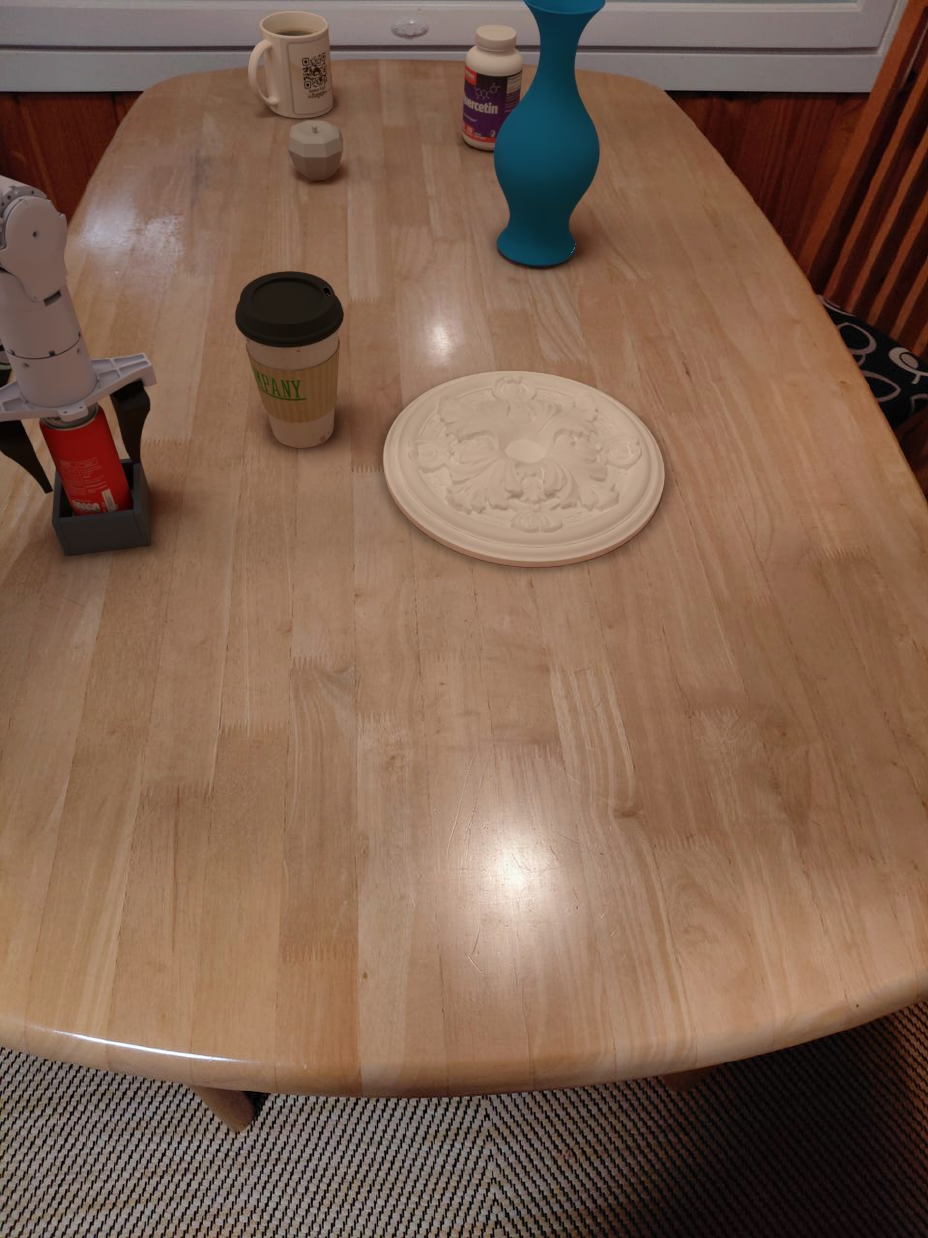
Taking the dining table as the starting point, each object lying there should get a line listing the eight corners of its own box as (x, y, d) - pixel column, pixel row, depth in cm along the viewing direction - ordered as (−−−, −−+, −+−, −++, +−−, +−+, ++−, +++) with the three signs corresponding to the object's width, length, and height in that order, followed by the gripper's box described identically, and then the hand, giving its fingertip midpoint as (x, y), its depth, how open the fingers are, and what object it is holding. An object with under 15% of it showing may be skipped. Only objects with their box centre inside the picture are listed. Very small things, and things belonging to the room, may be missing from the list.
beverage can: (65, 523, 84) (21, 418, 75) (103, 488, 87) (66, 383, 78) (110, 543, 83) (72, 438, 74) (148, 507, 86) (115, 402, 77)
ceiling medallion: (549, 616, 81) (553, 593, 79) (324, 466, 92) (322, 441, 89) (715, 459, 95) (723, 435, 92) (503, 344, 106) (505, 320, 103)
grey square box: (65, 555, 83) (51, 523, 80) (68, 498, 88) (55, 465, 84) (150, 545, 84) (140, 512, 81) (149, 489, 89) (139, 456, 86)
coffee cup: (247, 405, 97) (224, 274, 85) (339, 391, 99) (329, 261, 88) (263, 467, 91) (241, 335, 80) (361, 450, 93) (353, 320, 82)
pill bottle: (450, 141, 137) (454, 31, 125) (483, 123, 141) (489, 15, 129) (495, 159, 134) (502, 48, 122) (527, 140, 138) (537, 31, 127)
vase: (602, 262, 117) (645, 11, 96) (514, 282, 114) (538, 25, 92) (556, 217, 124) (586, -28, 102) (471, 234, 120) (484, -16, 99)
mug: (335, 120, 139) (330, 38, 131) (253, 121, 138) (243, 38, 129) (331, 90, 146) (326, 10, 137) (254, 91, 144) (243, 10, 136)
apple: (333, 193, 126) (330, 143, 120) (279, 182, 127) (274, 132, 122) (355, 167, 130) (353, 118, 125) (303, 156, 132) (299, 107, 126)
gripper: (-46, 394, 66) (18, 529, 76) (153, 337, 71) (187, 471, 82) (-68, 342, 69) (-5, 477, 80) (122, 291, 75) (158, 425, 85)
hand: (90, 471), depth 81 cm, fingers open, 7 cm apart
